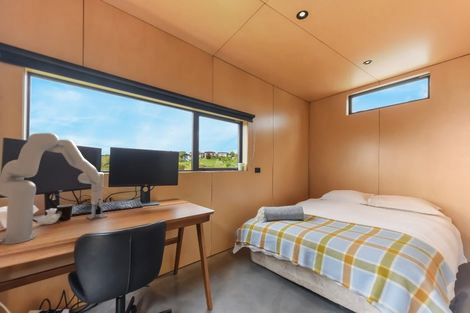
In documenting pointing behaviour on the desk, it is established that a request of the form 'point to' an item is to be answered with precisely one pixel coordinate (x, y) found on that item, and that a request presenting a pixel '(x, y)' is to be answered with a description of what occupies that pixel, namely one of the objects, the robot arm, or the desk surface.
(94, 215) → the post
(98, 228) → the desk surface
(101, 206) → the cap
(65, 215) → the coffee mug
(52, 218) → the duck figurine
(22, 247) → the desk surface
